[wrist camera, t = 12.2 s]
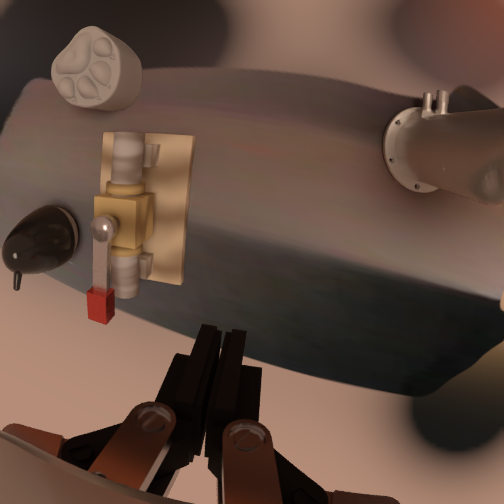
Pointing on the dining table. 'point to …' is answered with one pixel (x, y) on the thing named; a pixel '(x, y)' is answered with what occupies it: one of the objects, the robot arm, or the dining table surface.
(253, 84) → the dining table surface
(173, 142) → the valve bench
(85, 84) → the lumpy-topped squat cylinder
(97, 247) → the valve lever
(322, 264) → the dining table surface
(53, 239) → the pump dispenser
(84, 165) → the dining table surface
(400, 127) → the robot arm
